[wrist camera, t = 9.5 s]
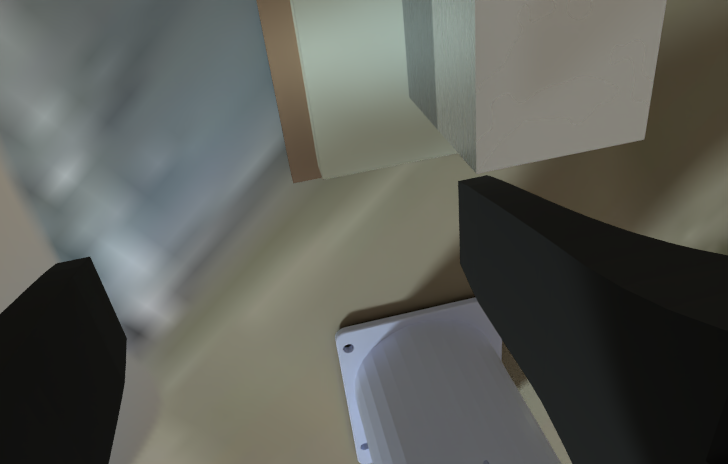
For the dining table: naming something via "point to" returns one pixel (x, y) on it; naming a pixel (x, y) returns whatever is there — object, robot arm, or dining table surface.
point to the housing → (532, 74)
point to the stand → (344, 87)
